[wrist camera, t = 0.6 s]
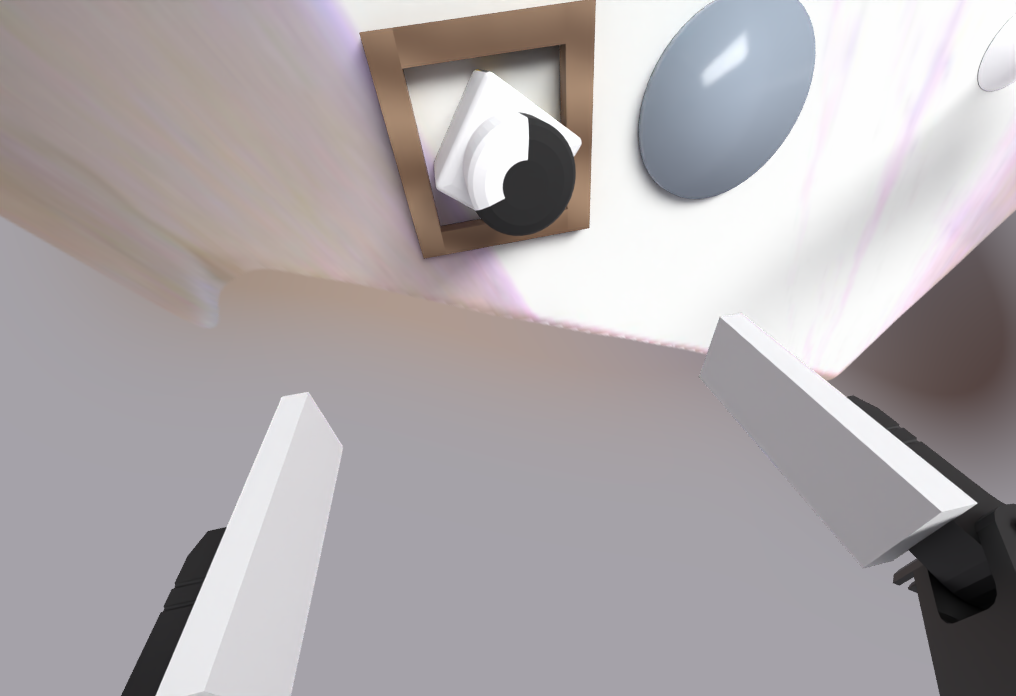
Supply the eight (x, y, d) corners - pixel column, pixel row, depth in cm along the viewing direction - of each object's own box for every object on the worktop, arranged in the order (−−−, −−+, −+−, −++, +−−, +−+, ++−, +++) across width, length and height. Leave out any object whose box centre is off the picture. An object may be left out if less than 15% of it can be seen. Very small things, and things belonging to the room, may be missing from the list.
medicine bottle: (554, 125, 28) (616, 157, 19) (508, 208, 32) (542, 268, 23) (474, 66, 25) (502, 70, 16) (432, 164, 29) (435, 214, 19)
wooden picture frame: (362, 34, 23) (359, 32, 22) (587, 1, 24) (595, -2, 23) (423, 251, 33) (423, 258, 32) (583, 222, 34) (589, 228, 33)
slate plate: (650, 2, 25) (656, 0, 24) (838, -26, 26) (848, -28, 25) (630, 208, 34) (634, 211, 33) (770, 182, 35) (777, 184, 34)
